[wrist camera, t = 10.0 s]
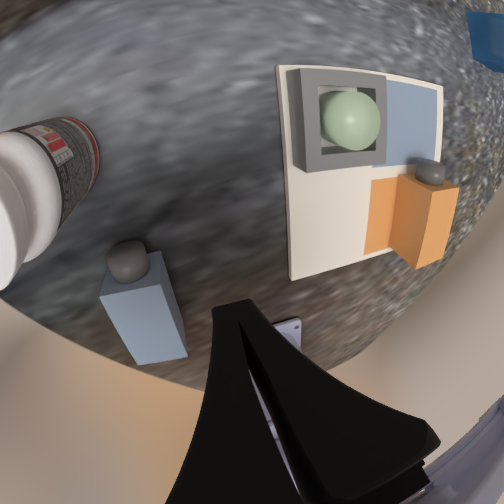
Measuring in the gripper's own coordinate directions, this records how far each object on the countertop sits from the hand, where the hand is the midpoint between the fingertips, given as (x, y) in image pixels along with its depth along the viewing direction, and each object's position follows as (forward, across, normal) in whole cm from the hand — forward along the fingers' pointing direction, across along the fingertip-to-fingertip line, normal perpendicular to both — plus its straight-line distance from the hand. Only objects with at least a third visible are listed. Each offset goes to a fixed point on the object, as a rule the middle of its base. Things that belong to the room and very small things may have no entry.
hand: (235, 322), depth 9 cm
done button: (+8, -9, -5) cm, 14 cm away
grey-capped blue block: (+10, +5, +6) cm, 13 cm away
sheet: (+10, -14, -1) cm, 17 cm away
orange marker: (+9, -18, +3) cm, 20 cm away
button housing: (+9, -9, -6) cm, 14 cm away
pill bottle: (+10, +8, -6) cm, 14 cm away
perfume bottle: (+10, -33, -17) cm, 38 cm away
